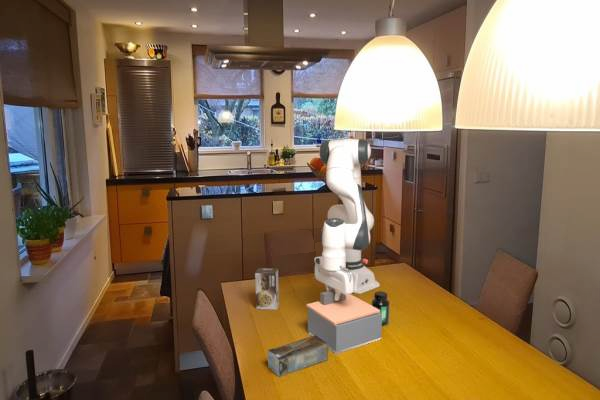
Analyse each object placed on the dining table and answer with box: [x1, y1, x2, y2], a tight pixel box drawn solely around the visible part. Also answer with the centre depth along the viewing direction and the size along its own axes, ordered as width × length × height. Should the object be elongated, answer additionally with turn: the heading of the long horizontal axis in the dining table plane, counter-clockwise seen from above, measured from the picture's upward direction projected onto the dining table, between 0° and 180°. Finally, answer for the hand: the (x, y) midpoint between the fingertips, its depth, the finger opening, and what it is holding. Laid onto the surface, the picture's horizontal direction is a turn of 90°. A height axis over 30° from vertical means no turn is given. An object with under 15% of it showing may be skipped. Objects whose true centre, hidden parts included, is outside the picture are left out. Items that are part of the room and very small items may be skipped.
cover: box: [306, 289, 380, 325], centre depth 162 cm, size 20×18×5 cm
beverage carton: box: [267, 335, 329, 377], centre depth 145 cm, size 8×19×7 cm, turn 122°
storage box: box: [307, 307, 383, 355], centre depth 162 cm, size 20×18×10 cm
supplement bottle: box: [371, 290, 390, 327], centre depth 174 cm, size 7×7×12 cm
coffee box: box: [254, 267, 280, 311], centre depth 188 cm, size 9×6×16 cm
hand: (333, 298), depth 167 cm, fingers closed on cover, 2 cm apart
